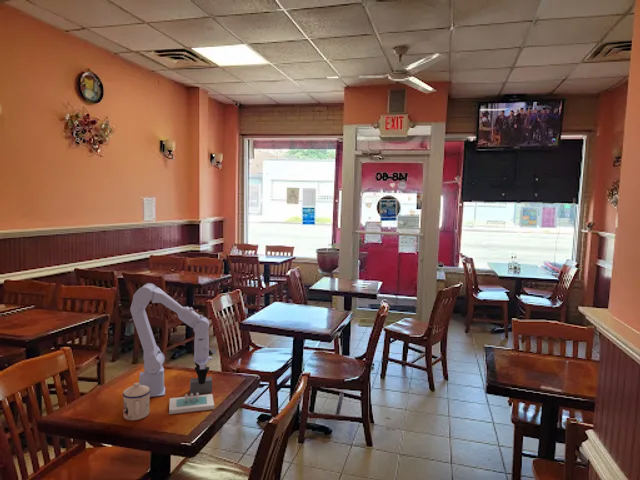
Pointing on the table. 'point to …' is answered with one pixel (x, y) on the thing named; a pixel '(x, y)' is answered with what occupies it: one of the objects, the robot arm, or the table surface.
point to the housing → (200, 386)
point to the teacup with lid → (136, 402)
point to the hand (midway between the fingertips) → (201, 380)
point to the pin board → (191, 403)
